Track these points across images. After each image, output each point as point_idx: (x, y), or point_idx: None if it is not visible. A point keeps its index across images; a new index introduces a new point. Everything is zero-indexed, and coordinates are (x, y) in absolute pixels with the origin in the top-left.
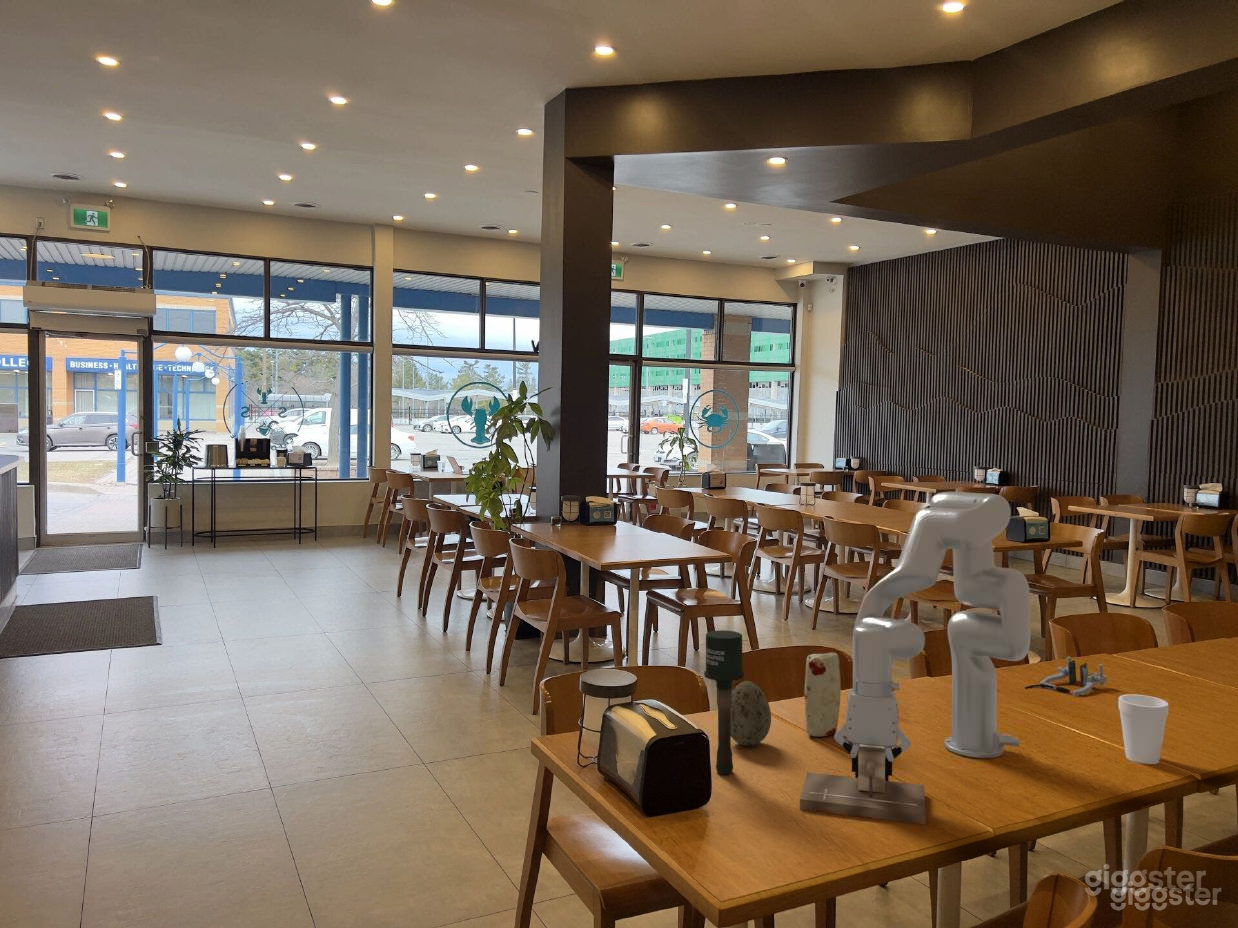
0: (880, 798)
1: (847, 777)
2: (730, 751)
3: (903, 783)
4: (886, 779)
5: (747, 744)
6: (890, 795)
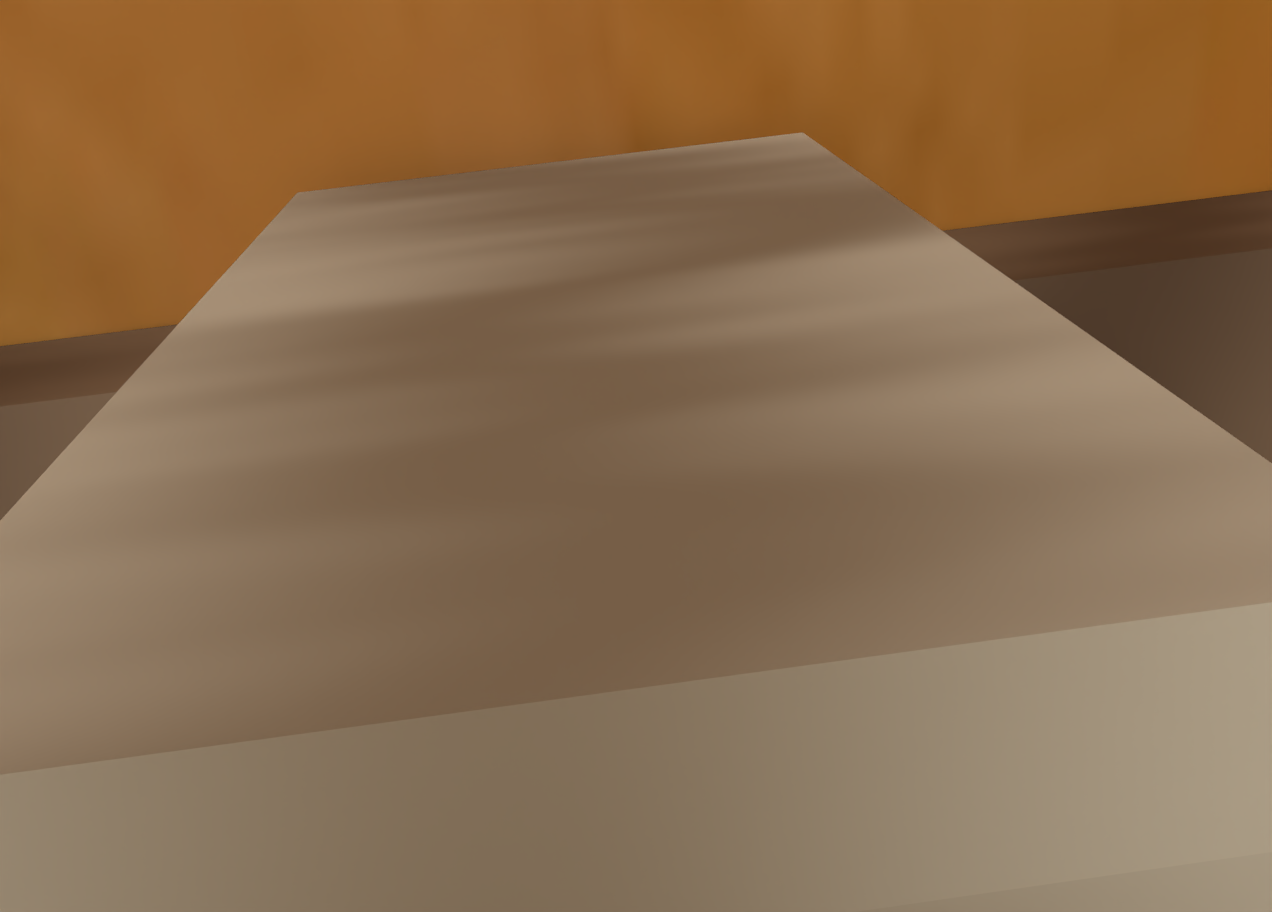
0: None
1: (46, 455)
2: None
3: (1207, 302)
4: None
5: None
6: None
